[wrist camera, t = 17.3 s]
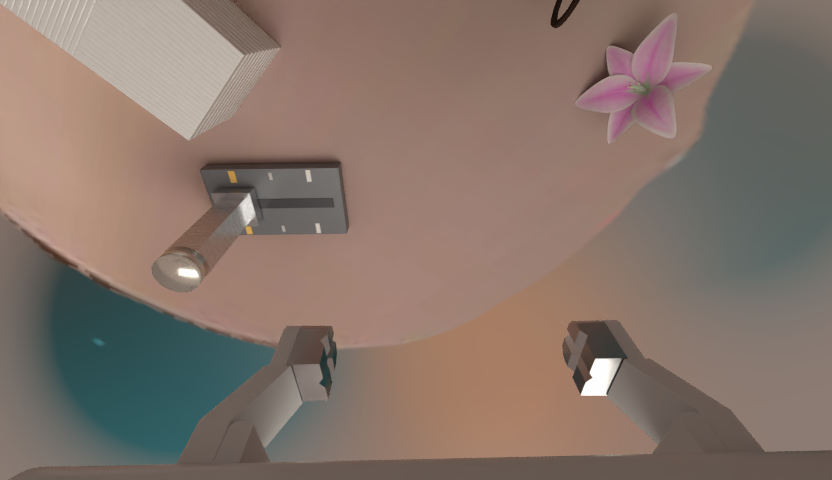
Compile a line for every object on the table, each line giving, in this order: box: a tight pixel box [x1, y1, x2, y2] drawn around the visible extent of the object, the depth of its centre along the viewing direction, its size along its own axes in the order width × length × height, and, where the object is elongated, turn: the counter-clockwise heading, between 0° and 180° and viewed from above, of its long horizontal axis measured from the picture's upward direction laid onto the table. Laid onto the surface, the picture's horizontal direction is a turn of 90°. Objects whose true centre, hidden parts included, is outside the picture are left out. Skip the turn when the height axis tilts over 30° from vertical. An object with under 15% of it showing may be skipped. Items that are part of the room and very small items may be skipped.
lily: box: [575, 13, 712, 144], centre depth 39 cm, size 12×12×10 cm
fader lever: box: [152, 188, 263, 292], centre depth 41 cm, size 5×5×16 cm
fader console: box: [200, 163, 349, 235], centre depth 49 cm, size 18×10×2 cm, turn 90°
